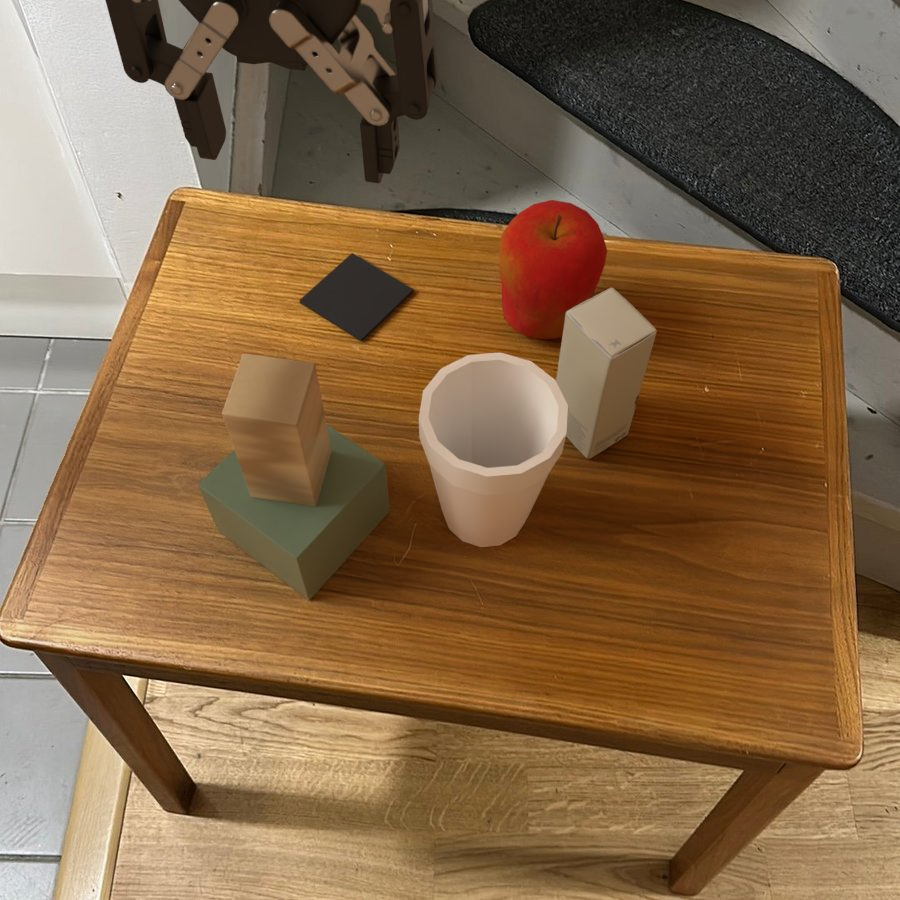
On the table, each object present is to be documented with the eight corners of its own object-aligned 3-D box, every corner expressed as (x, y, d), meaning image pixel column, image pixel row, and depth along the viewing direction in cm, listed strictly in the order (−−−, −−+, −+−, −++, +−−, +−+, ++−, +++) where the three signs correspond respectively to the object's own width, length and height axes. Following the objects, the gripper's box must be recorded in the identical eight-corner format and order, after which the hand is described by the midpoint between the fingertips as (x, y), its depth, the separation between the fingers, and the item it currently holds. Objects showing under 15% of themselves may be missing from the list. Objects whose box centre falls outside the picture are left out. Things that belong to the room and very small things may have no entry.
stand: (217, 531, 68) (196, 484, 62) (300, 449, 72) (287, 397, 66) (309, 601, 65) (296, 558, 59) (389, 511, 69) (385, 463, 63)
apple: (502, 273, 82) (511, 168, 72) (597, 288, 81) (619, 184, 71) (485, 348, 77) (492, 248, 67) (585, 365, 76) (607, 265, 66)
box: (629, 436, 73) (663, 332, 62) (585, 462, 71) (613, 361, 60) (587, 390, 75) (613, 283, 64) (544, 415, 74) (563, 310, 63)
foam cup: (464, 589, 66) (470, 501, 55) (398, 492, 70) (391, 393, 59) (572, 526, 69) (598, 431, 57) (503, 436, 73) (514, 331, 62)
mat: (299, 303, 80) (299, 300, 79) (352, 255, 83) (352, 252, 82) (361, 342, 77) (361, 339, 77) (413, 292, 80) (413, 289, 80)
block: (250, 497, 62) (220, 413, 53) (268, 441, 64) (242, 352, 55) (316, 507, 61) (297, 424, 53) (331, 450, 64) (315, 362, 55)
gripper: (2, -168, 32) (135, 192, 45) (407, -125, 30) (418, 233, 44) (87, -263, 36) (185, 95, 49) (449, -228, 34) (447, 130, 48)
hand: (295, 160), depth 47 cm, fingers open, 8 cm apart
